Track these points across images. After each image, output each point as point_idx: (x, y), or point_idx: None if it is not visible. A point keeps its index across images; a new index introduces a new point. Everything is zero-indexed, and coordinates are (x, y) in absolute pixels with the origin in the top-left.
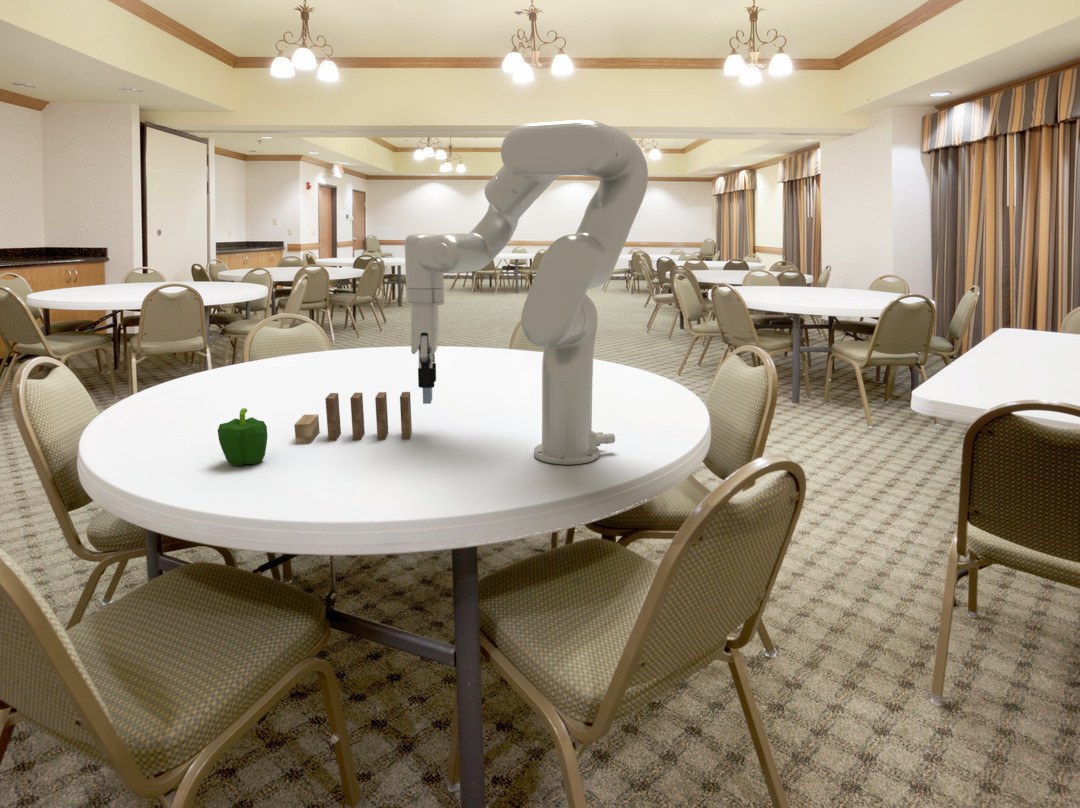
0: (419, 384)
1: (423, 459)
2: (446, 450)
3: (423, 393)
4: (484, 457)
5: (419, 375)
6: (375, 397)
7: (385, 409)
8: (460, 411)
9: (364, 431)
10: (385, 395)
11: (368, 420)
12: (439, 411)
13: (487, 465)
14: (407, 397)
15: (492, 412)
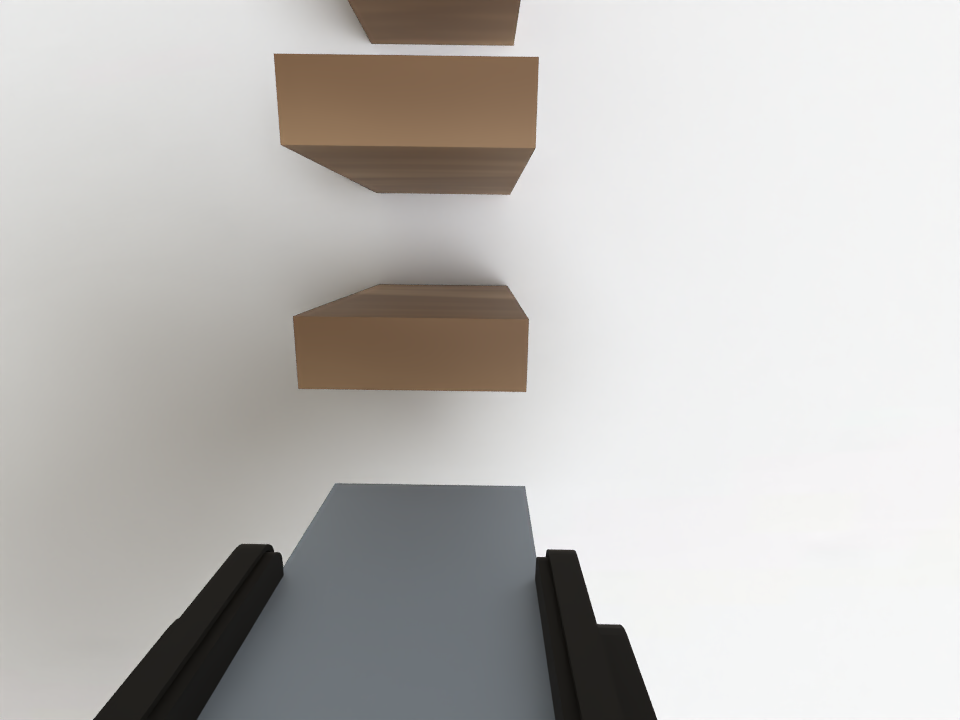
0: (228, 568)
1: (50, 414)
2: (191, 504)
3: (304, 537)
4: (103, 646)
5: (164, 658)
6: (281, 56)
7: (423, 170)
8: (900, 551)
9: (509, 39)
10: (461, 150)
11: (829, 20)
12: (934, 445)
13: (3, 654)
14: (300, 385)
15: (834, 691)
